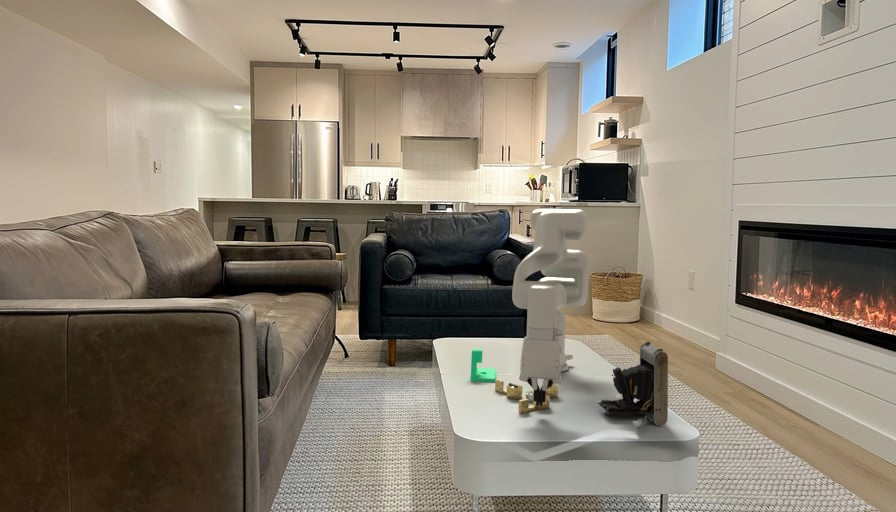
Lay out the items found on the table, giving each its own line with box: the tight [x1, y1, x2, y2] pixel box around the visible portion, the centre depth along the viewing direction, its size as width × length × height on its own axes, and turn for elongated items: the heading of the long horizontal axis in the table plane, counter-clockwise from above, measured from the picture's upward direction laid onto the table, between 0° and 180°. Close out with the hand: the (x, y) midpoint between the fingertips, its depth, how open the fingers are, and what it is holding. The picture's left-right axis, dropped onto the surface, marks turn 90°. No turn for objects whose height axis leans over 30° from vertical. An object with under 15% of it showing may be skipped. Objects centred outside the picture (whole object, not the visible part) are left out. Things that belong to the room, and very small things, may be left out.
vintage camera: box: [597, 341, 669, 427], centre depth 150 cm, size 10×15×20 cm, turn 95°
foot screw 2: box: [518, 395, 551, 414], centre depth 154 cm, size 10×4×4 cm, turn 127°
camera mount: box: [470, 348, 497, 383], centre depth 184 cm, size 12×8×10 cm, turn 175°
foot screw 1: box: [494, 378, 523, 400], centre depth 166 cm, size 10×4×4 cm, turn 35°
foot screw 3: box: [546, 384, 559, 400], centre depth 168 cm, size 10×4×4 cm, turn 172°
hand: (539, 404), depth 149 cm, fingers closed
